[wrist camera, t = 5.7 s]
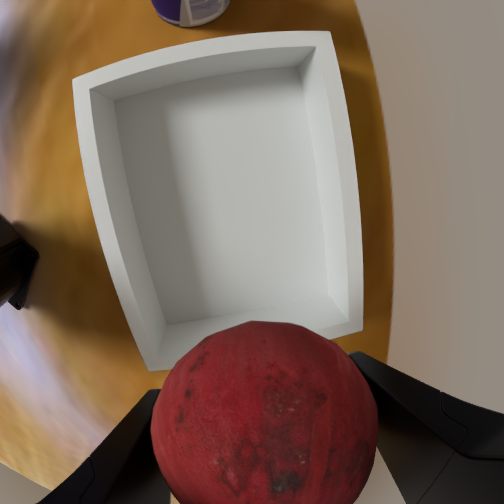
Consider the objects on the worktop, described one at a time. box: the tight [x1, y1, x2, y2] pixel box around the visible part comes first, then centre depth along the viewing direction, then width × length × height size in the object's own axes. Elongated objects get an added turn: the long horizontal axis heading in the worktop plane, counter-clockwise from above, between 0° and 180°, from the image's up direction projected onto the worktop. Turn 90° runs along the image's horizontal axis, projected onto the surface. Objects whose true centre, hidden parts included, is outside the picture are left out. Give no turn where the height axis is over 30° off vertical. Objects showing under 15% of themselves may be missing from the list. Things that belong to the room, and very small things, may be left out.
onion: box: [151, 320, 379, 504], centre depth 6 cm, size 6×6×8 cm
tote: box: [72, 31, 363, 371], centre depth 17 cm, size 18×14×5 cm
